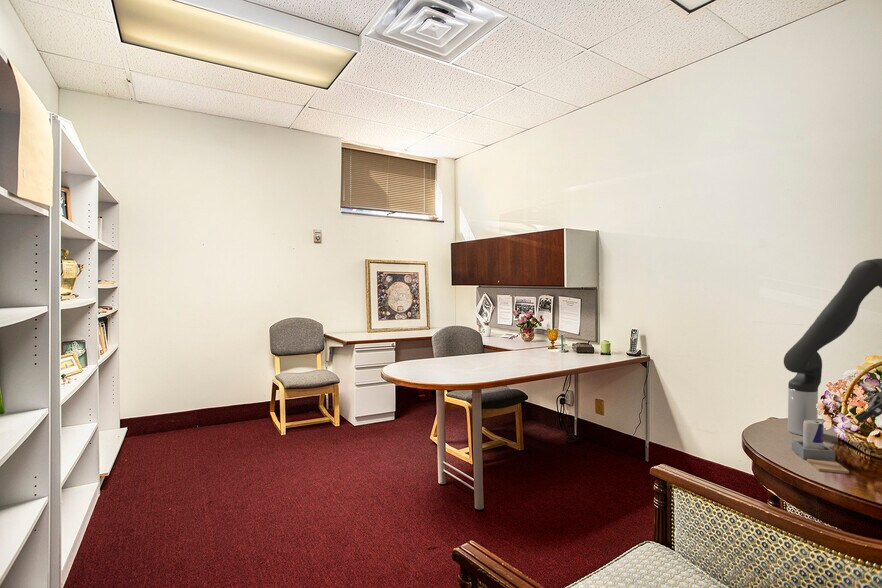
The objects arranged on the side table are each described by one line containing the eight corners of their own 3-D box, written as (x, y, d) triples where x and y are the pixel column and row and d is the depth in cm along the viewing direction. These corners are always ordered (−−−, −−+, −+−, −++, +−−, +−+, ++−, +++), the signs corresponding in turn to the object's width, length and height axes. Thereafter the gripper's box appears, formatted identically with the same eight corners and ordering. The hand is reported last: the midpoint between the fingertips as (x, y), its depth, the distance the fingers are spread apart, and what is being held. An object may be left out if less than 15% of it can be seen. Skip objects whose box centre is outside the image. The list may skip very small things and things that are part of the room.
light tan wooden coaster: (807, 461, 156) (807, 458, 156) (835, 463, 154) (835, 461, 154) (818, 470, 148) (818, 468, 148) (849, 473, 146) (849, 471, 146)
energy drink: (826, 458, 158) (827, 424, 157) (810, 458, 158) (810, 424, 157) (815, 452, 163) (815, 419, 162) (799, 452, 163) (799, 419, 163)
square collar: (791, 449, 166) (791, 440, 166) (821, 452, 163) (821, 442, 163) (803, 459, 157) (803, 449, 157) (835, 462, 155) (835, 451, 155)
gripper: (884, 373, 155) (839, 402, 162) (898, 381, 143) (848, 413, 149) (906, 390, 152) (859, 419, 159) (921, 401, 140) (870, 432, 147)
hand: (854, 416), depth 154 cm, fingers open, 8 cm apart
